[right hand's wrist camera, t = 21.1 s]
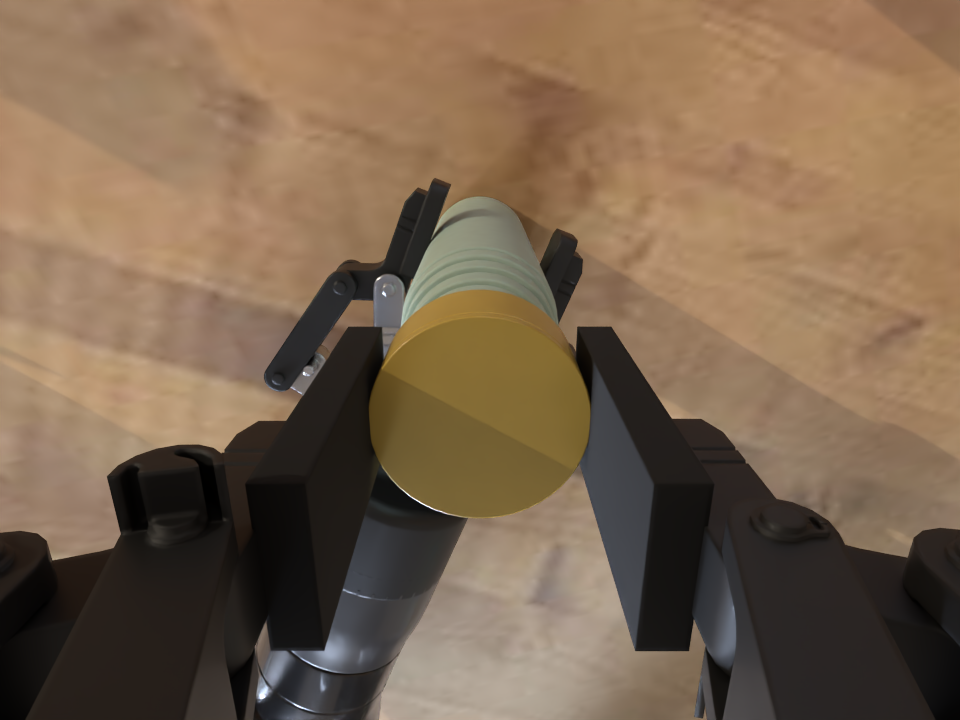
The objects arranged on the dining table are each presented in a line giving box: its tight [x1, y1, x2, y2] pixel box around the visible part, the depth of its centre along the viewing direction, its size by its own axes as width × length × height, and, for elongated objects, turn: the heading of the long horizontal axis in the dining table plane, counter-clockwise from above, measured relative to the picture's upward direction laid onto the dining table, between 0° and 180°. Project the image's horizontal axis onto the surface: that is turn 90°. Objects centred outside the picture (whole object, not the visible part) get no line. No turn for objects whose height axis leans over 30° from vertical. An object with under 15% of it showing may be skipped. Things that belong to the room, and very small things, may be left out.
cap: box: [369, 290, 591, 518], centre depth 13 cm, size 4×4×2 cm
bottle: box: [401, 196, 559, 327], centre depth 22 cm, size 5×5×20 cm
